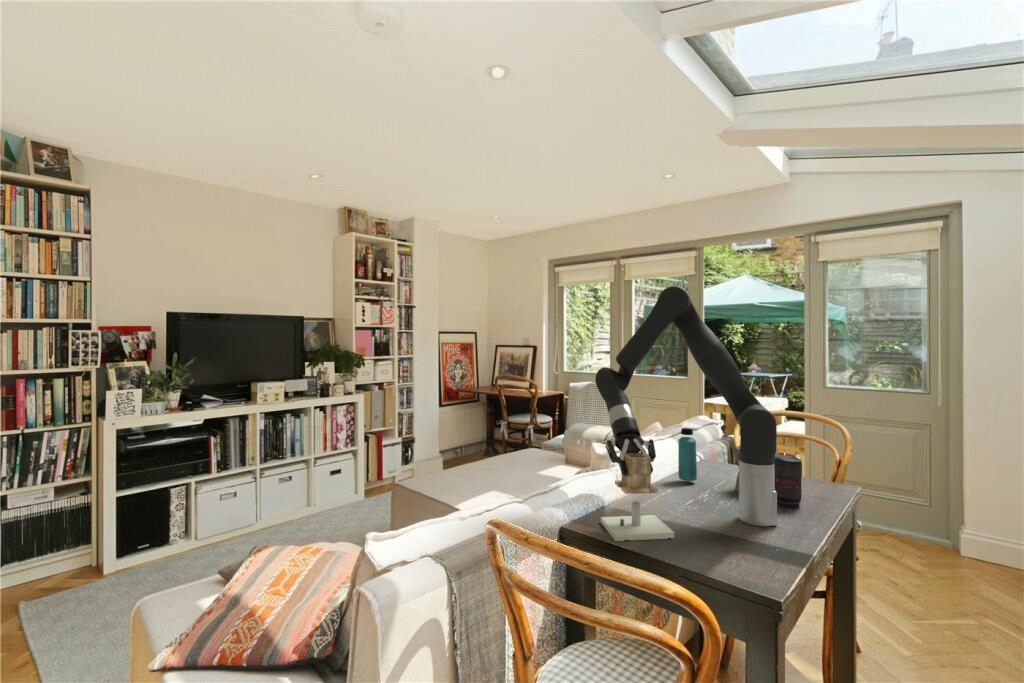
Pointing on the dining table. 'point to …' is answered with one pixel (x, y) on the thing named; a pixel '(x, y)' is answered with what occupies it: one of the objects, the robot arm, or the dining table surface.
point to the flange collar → (637, 475)
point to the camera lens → (788, 481)
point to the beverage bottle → (687, 456)
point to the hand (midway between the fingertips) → (638, 474)
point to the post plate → (636, 526)
